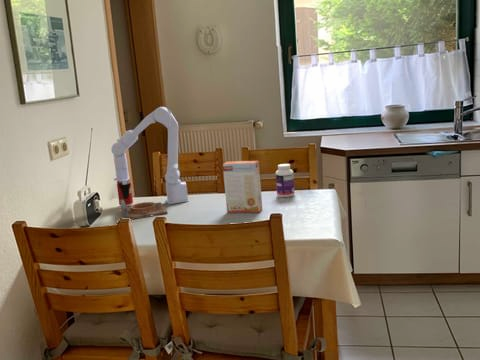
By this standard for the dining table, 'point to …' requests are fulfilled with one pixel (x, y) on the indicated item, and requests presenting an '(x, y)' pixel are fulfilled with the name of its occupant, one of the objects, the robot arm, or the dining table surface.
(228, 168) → the cracker box
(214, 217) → the dining table surface
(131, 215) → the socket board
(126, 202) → the beverage can
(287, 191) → the pill bottle
